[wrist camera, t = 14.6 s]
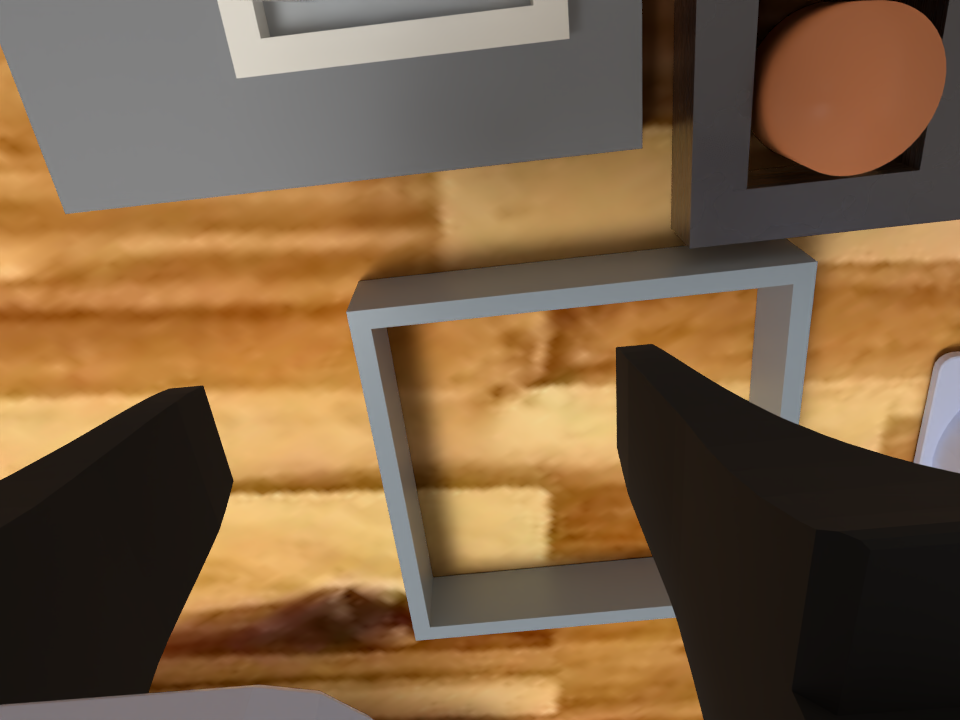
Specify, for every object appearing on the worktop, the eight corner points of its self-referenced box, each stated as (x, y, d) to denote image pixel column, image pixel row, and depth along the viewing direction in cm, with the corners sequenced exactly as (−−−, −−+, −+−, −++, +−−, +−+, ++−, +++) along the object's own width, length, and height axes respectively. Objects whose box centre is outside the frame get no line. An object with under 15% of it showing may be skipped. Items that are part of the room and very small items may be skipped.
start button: (903, -8, 18) (961, -11, 16) (880, 149, 20) (929, 166, 18) (747, 11, 18) (785, 11, 16) (739, 165, 20) (771, 184, 18)
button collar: (976, -96, 18) (1034, -108, 16) (923, 201, 21) (965, 218, 19) (675, -59, 18) (698, -66, 16) (670, 228, 21) (689, 248, 20)
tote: (781, 235, 21) (817, 261, 19) (752, 559, 27) (777, 608, 25) (358, 281, 22) (346, 312, 20) (420, 590, 28) (416, 640, 26)
